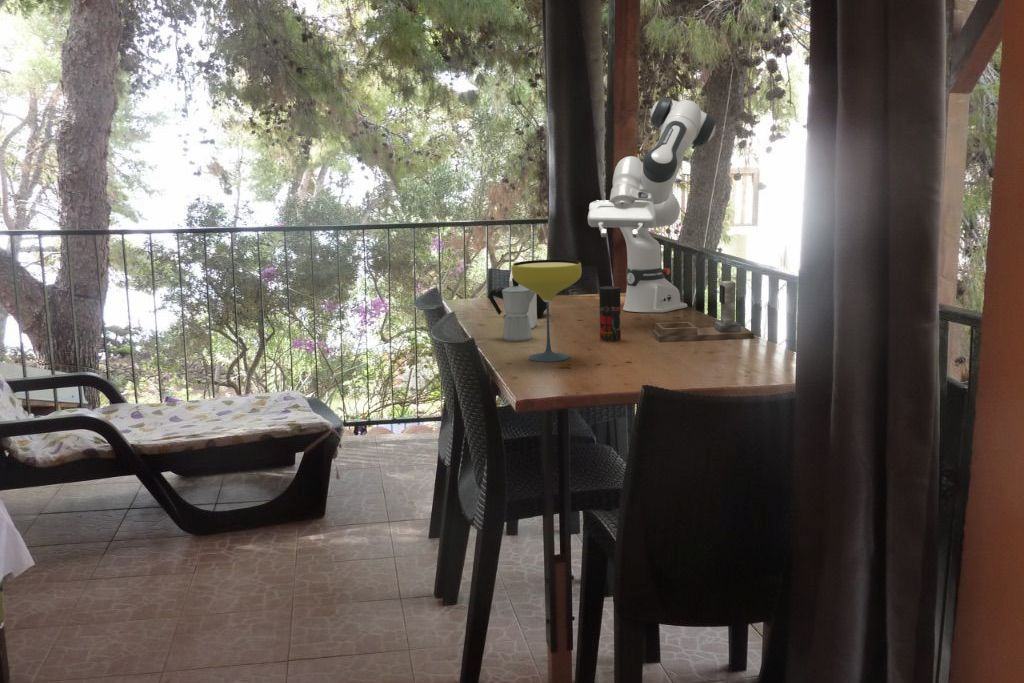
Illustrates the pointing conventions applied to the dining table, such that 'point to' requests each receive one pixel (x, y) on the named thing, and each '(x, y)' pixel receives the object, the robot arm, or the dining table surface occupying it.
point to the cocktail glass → (547, 289)
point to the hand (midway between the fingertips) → (619, 236)
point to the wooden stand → (721, 330)
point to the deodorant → (610, 313)
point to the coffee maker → (514, 311)
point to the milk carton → (532, 306)
